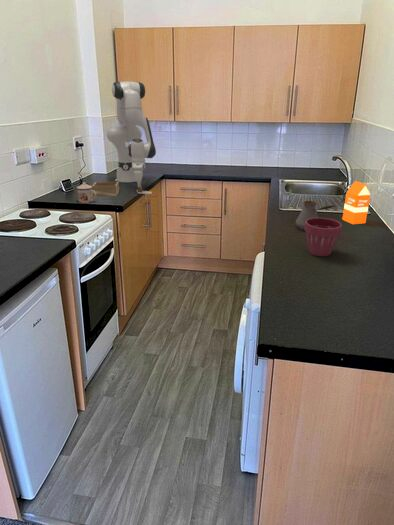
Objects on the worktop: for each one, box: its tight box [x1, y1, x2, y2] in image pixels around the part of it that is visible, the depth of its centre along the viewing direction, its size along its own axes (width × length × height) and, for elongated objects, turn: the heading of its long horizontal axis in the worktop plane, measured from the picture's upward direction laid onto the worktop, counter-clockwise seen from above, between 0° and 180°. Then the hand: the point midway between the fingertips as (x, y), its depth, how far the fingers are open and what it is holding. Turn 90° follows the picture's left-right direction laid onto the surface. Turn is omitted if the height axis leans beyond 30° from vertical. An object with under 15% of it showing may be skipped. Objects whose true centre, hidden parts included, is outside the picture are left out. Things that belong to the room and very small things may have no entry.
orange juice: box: [341, 180, 371, 225], centre depth 197 cm, size 8×9×20 cm
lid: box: [135, 184, 153, 195], centre depth 262 cm, size 14×16×5 cm
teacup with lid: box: [76, 182, 97, 204], centre depth 233 cm, size 12×9×12 cm
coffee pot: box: [295, 200, 337, 231], centre depth 183 cm, size 21×12×15 cm, turn 27°
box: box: [91, 181, 120, 197], centre depth 252 cm, size 13×15×7 cm
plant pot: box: [304, 217, 343, 257], centre depth 158 cm, size 14×14×13 cm
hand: (139, 186), depth 261 cm, fingers open, 4 cm apart
